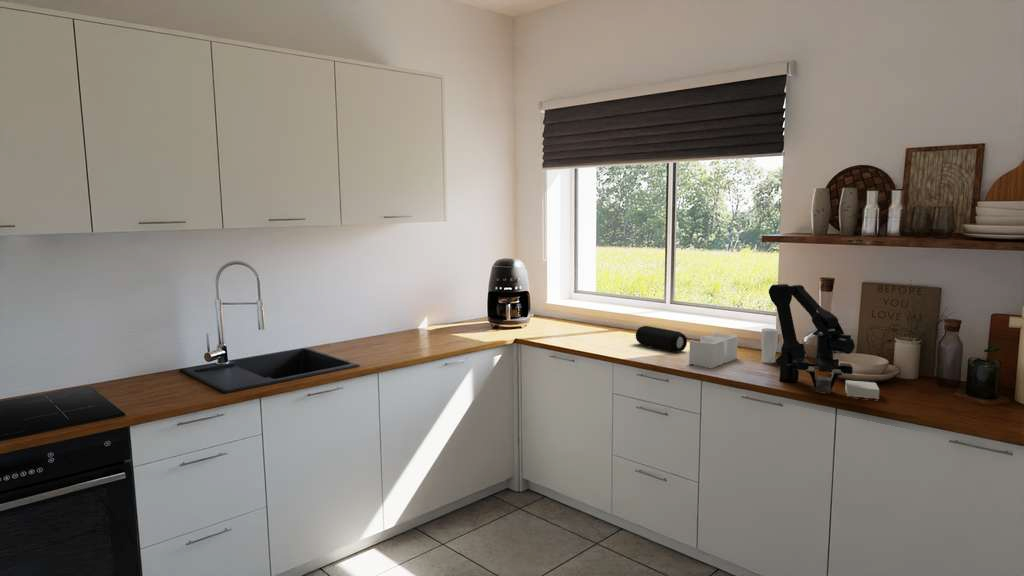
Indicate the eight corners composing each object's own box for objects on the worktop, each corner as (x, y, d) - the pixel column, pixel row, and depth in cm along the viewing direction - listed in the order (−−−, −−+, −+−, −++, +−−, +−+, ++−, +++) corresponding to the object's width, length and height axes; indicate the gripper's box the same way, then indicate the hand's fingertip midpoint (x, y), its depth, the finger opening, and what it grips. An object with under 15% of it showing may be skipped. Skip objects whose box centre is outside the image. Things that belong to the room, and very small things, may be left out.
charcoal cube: (815, 392, 242) (816, 379, 242) (815, 389, 247) (815, 376, 246) (830, 394, 240) (831, 381, 240) (829, 390, 245) (830, 377, 244)
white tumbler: (758, 363, 289) (760, 330, 287) (762, 360, 294) (763, 327, 292) (774, 365, 285) (776, 331, 283) (777, 361, 291) (779, 329, 289)
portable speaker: (687, 351, 313) (688, 331, 311) (674, 354, 307) (675, 333, 305) (647, 343, 333) (647, 324, 331) (634, 345, 327) (634, 326, 325)
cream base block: (847, 397, 236) (848, 386, 235) (845, 390, 245) (845, 380, 245) (878, 400, 232) (879, 389, 232) (875, 393, 241) (875, 382, 241)
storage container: (712, 368, 279) (713, 344, 278) (689, 364, 287) (689, 340, 285) (736, 359, 297) (737, 335, 296) (714, 355, 305) (715, 332, 304)
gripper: (798, 350, 238) (796, 391, 240) (855, 355, 231) (852, 397, 232) (797, 344, 248) (795, 384, 250) (852, 348, 241) (849, 389, 243)
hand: (822, 388), depth 243 cm, fingers closed on charcoal cube, 5 cm apart
